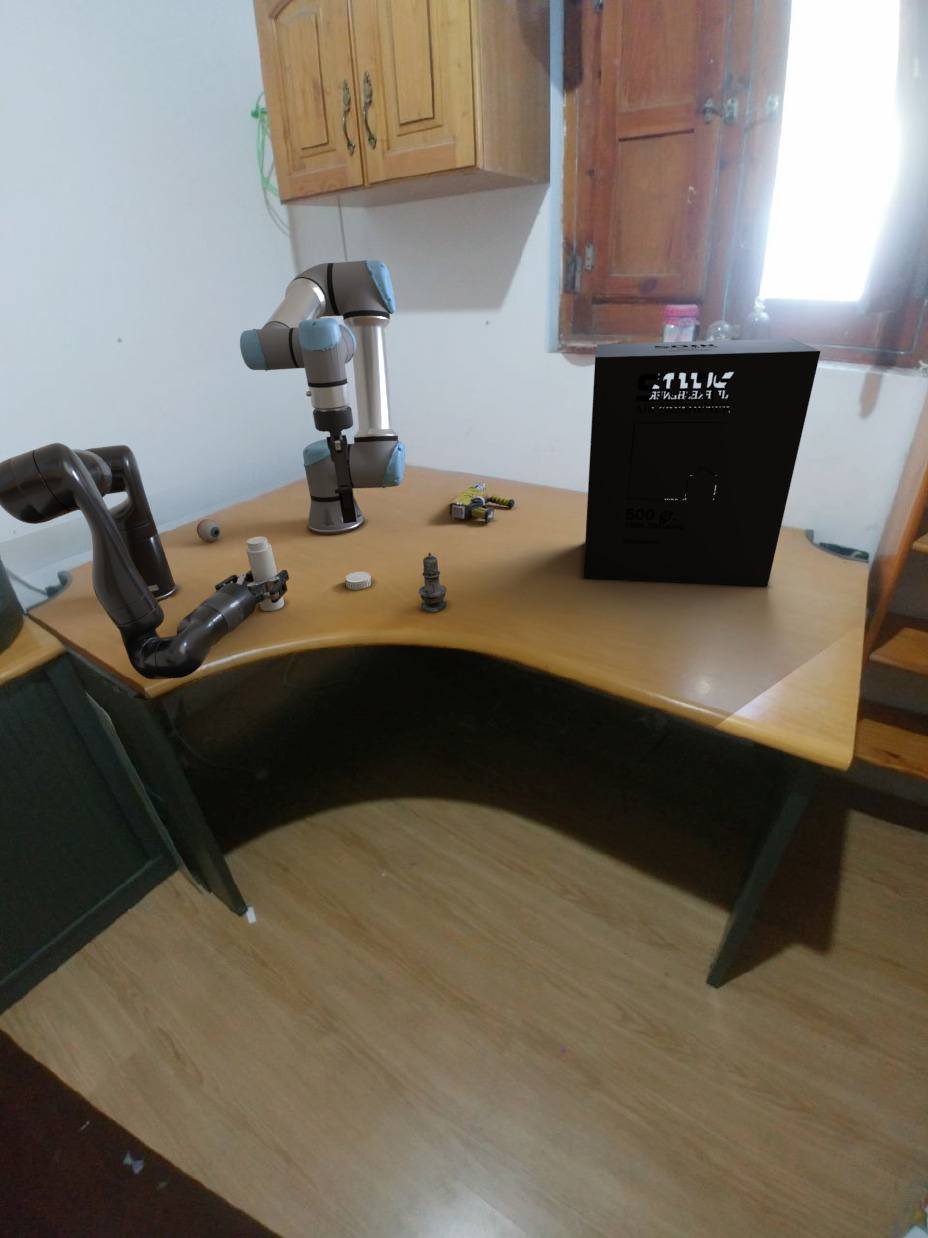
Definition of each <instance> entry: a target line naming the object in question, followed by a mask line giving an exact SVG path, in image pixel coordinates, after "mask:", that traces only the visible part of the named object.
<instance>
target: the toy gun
mask: <svg viewBox="0 0 928 1238" xmlns="http://www.w3.org/2000/svg"><path fill="white" fill-rule="evenodd" d="M486 491H487V484H486V483H485V482H480V481H477V482H475V483H474V484H473V485H472V486H469V487H468V488H467V489H466V490H465V491H463V492H462V493H461V494H459V496H457V497H456V498H455V499H453V500H452V501H451V502H450V503H449V505H448V506H449V507H448V516H450V518H453V519H454V520H456V519H457V520H459V521H460V520H461V519H462V520H469V519H473V518H478V519H482V520H484V523H489V522H490V521H492V520H494V516H495V515H494V514H495V507H492V506H491V507H489V508H488V506H487V505H488V504H490V503H491V504H495V505H498V506H503V507H506V508H509V509H512V508H514V506H515V500H514V499H513V498H507V497H503V496H499V495H495V494H492V495H491V496H490V497H489V495H488V493H487V492H486Z"/></svg>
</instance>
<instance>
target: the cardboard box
mask: <svg viewBox="0 0 928 1238" xmlns="http://www.w3.org/2000/svg"><path fill="white" fill-rule="evenodd" d="M820 356H821V350H820V349H817V348H816V347H812V346H810V345H808V344H806V343H803V342H801V341H798V340H796V339H793V338H790V337H788V338H786V337H785V338H756V339H755V338H754V339H725V340H695V341H694V340H692V341H665V342H664V341H661V342H636V343H635V342H631V343H604V344H603V343H602V344H601V343H600V344H599V343H598V344H596V349H595V355H594V369H593V370H594V373H593V391H592V407H591V408H592V410H591V428H590V429H591V430H590V445H589V446H590V448H589V466H588V484H587V501H586V503H587V505H586V521H585V522H586V523H585V542H584V543H585V544H584V560H583V579H596V580H597V579H598V580H599V579H600V580H616V581H617V580H621V581H639V582H640V581H642V582H661V583H663V582H665V583H666V582H667V583H688V584H709V585H710V584H711V585H730V586H731V585H734V586H755V587H768V586H769V582H770V577H771V573H772V568H773V564H774V559H775V555H776V551H777V546H778V542H779V538H780V533H781V529H782V525H783V520H784V515H785V512H786V511H785V510H786V506H787V502H788V498H789V493H790V488H791V485H792V480H793V475H794V472H795V471H794V470H795V466H796V462H797V458H798V453H799V448H800V444H801V439H802V436H803V430H804V427H805V422H806V417H807V413H808V409H809V404H810V399H811V395H812V391H813V387H814V383H815V378H816V374H817V373H816V372H817V369H818V364H819V362H820V361H819V359H820ZM729 373H732V374H731V376H730V377H728V378H727V377H724V376H725V375H726V374H729ZM669 374H673V378H671V379H670V381H669V388H668V387H667V386H668V385H667V384H668V378H665V377H666V376H667V375H669ZM680 374H685V378H684V384H687V386H686V387H681V386H682V379H681V378H680ZM693 374H696V378H692V375H693ZM710 374H712V378H711V383H710V385H709V386H708V384H709V379H710V378H709V377H710ZM695 379H696V380H695ZM695 383H696V384H700V387H694V385H695ZM715 384H724V386H723V387H717V386H715ZM654 386H657V387H658V388H654Z"/></svg>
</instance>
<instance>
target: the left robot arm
mask: <svg viewBox="0 0 928 1238" xmlns="http://www.w3.org/2000/svg"><path fill="white" fill-rule="evenodd" d="M118 493H126V495H127V497H126V498H125V499H124V500H122V501H121V502H120V503H118V504H116V505H114V506H112V507H110V508H109V509H108V506H107V504H106V502H105V500H104V498H105V497H106V495H112V494H118ZM0 508H2V509H3V510H5V512H6V513H8V515H10V516H11V517H13V518H14V519H16V520H17V521H20V522H22V523H24V524H25V523H26V524H30V525H31V524H32V525H37V524H43V523H48V522H50V521H52V520H54V519H58V518H60V517H62V516H65V515H67V514H71V513H73V512H76V511H80V512H81V513H82V515H83V516H84V518H85V521H86V523H87V526H88V528H89V531H90V535H91V542H92V564H91V565H92V566H91V574H92V575H91V581H92V588H93V591H94V594H95V596H96V599H97V601H98V602H99V604H100V606H101V607H102V609H103V610H104V611H105V612H106V614H107V616H108V617H109V618H110V620H111V621H112V622H113V624H114V625H115V627H116V628H117V629H118V631H119V633H120V636H121V640H122V644H123V647H124V648H125V653H126V655H127V658H128V660H129V662H130V664H131V666H132V668H133V669H134V671H136V672H137V673H138V674H139V676H142V677H143V678H145V679H147V680H152V681H157V680H159V681H160V680H170V679H182V678H185V677H188V676H191V675H192V674H193V673H195V672H196V671H197V670H198V669H200V668H201V666H202V665H203V663H204V662H205V660H206V658H207V657H208V655H209V654H210V652H211V650H212V648H213V647H215V645H216V644H217V643H219V642H220V641H221V640H222V639H224V638H225V637H226V636H227V635H229V634H231V633H232V632H233V631H234V630H236V629H237V628H238V627H239V626H240V625H241V624H242V623H244V622H245V621H246V620H247V619H248V618H249V617H250V616H252V615H253V614H254V612H255V611H256V608H257V605H258V604H260V602H262V601H264V600H265V599H271V602H272V603H276V602H278V601H279V600H280V598H281V597H282V596H283V597H284V595H285V594H286V593H287V592H288V591H289V589H288V586H287V585H288V584H287V582H288V581H289V580H290V576H289V572H288V570H287V569H281V571H279V572H277V575H276V576H275V577H274V578H271V579H269V580H267V579H263V580H260V581H258V582H255V583H254V579H253V575H252V571H251V569H250V570H248V571H247V572H245V573H241V574H240V575H239V576H238V575H237V574H232V575H230V576H228V577H226V578H225V579H224V580H222V581H221V582H218V583H217V584H215V585H214V589H215V591H214V593H212V594H211V595H210V596H208V597H207V598H205V599H204V600H203V601H202V602H201V603H200V604H199V605H198V606H197V607H196V608H195V609H193V610H192V611H191V612H190V613H188V614H187V615H186V616H185V617H183V618H182V619H181V620H180V622H178V625H177V627H176V634H175V635H171V636H163V637H161V636H160V635H159V634H158V632H157V630H156V629H158V628H159V627H160V626H161V625H162V624H163V622H164V620H165V613H164V610H163V609H162V606H161V605H160V603H159V602H160V601H163V600H165V599H168V598H169V597H171V596H173V595H174V594H176V592H177V584H176V583H175V581H174V580H175V579H174V578H173V574H172V572H171V568H170V565H169V562H168V558H167V556H166V553H165V550H164V547H163V543H162V541H161V538H160V534H159V532H158V531H159V530H158V529H157V526H156V522H155V519H154V516H153V514H152V510H151V506H150V503H149V501H148V497H147V494H146V491H145V488H144V484H143V479H142V475H141V473H140V468H139V465H138V461H137V459H136V456H135V454H134V452H133V450H132V449H131V448H130V447H129V446H128V445H126V444H115V445H107V446H100V447H92V448H85V449H81V448H75V449H73V448H72V449H71V448H70V447H69V446H68V445H66V444H64V443H61V442H54V443H49V444H47V445H43V446H40V447H38V448H35V449H32V450H29V451H26V452H24V453H21V454H18V455H15V456H12V457H9V458H7V459H5V460H2V461H1V462H0ZM272 583H274V584H275V585H274V586H273V587H272V588H271V584H272ZM263 585H265V589H266V592H265V593H264V588H263Z"/></svg>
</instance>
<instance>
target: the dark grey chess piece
mask: <svg viewBox="0 0 928 1238" xmlns="http://www.w3.org/2000/svg"><path fill="white" fill-rule="evenodd" d="M422 559H423V560H422V566H423V572H422V574H421V575H422V576H423V579H424V580H423V581H424V585H423V586H421V587H419V589H418V591H417V592H418V594H419V595H420V598H421V599H422V601H423V602H422V603H421V609H422V610H423V611H425V612H431V613H434V612H440V611H442V610H444V609H446V608H447V605H448V604H447V602H446V601H445V597H446V595H447V592H448V587H446V586H445V585H443V584H441V582H440V575H441V571H440V570H439V563H438V562H439V561H438V559H437V557H435V556H433V555H432V553H431V552H430V551H429V552H428V553H427V556H424V558H422Z"/></svg>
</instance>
